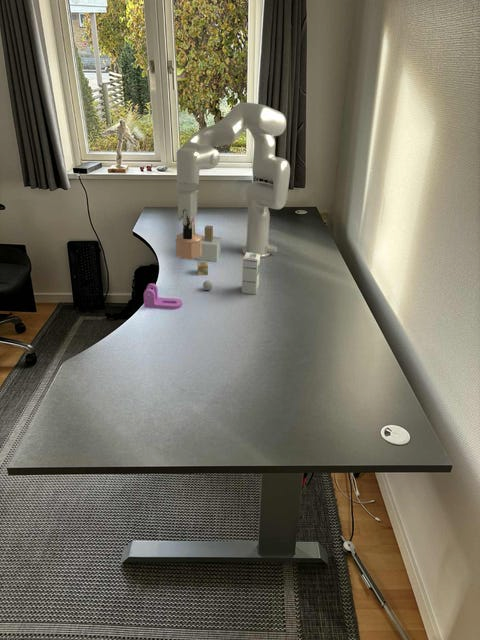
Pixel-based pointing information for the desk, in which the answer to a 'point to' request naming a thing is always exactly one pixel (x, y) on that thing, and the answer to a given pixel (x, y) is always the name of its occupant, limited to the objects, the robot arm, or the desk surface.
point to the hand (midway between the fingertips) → (188, 236)
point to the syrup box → (250, 273)
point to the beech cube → (202, 268)
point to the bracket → (159, 299)
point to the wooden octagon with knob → (189, 245)
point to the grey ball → (207, 285)
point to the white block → (210, 246)
